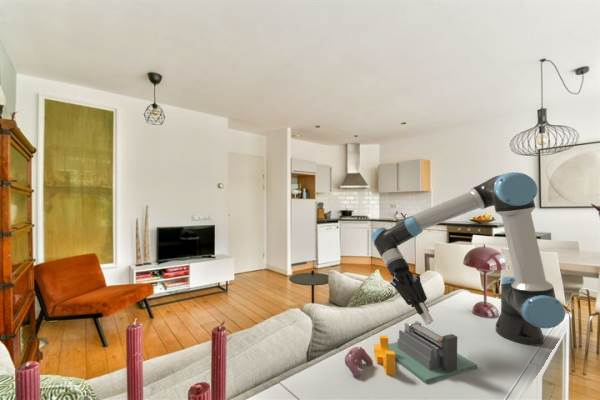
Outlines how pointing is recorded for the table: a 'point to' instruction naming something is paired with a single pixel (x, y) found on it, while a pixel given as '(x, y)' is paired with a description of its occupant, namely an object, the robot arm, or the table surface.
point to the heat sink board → (429, 355)
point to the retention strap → (427, 334)
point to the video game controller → (357, 360)
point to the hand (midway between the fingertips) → (429, 322)
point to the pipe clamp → (385, 355)
